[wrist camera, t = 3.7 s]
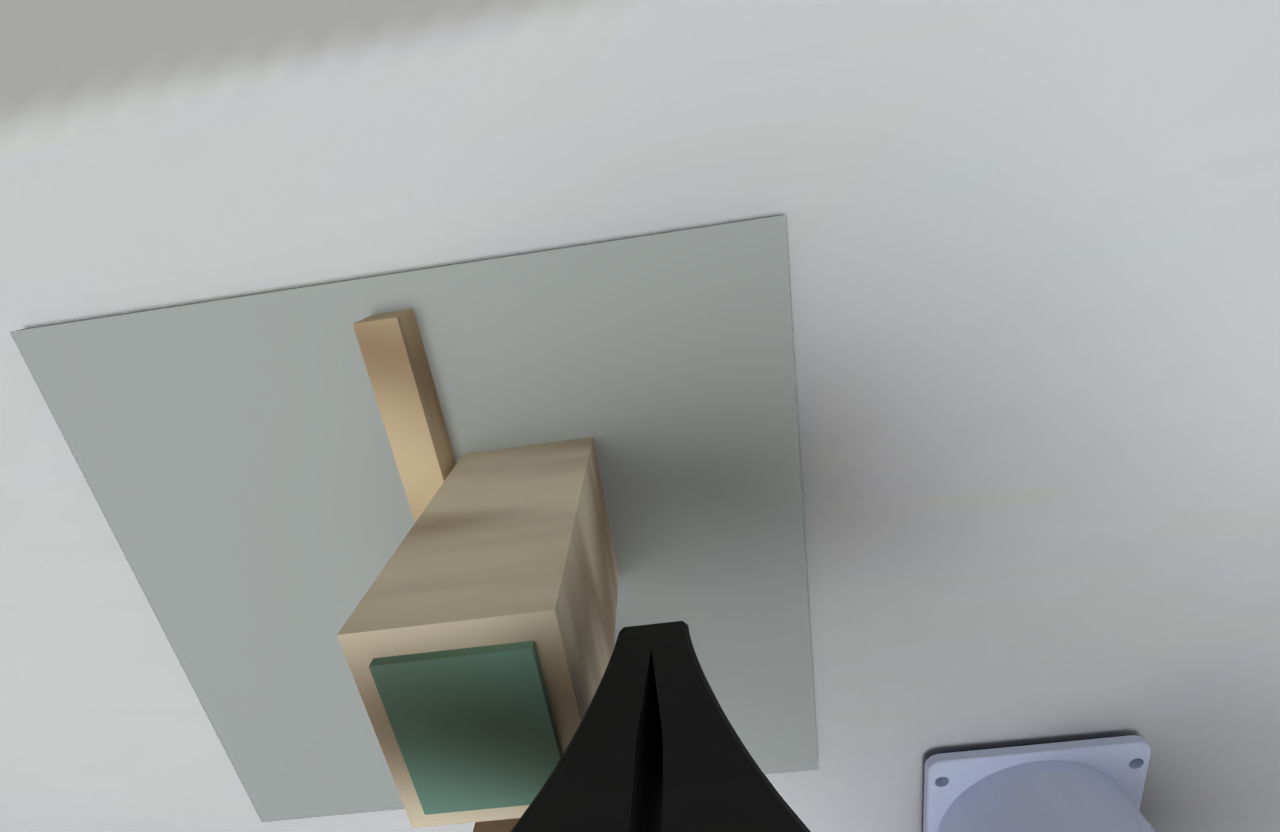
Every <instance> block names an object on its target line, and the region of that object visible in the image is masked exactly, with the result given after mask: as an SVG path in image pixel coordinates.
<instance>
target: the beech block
mask: <svg viewBox="0 0 1280 832" xmlns="http://www.w3.org/2000/svg"><path fill="white" fill-rule="evenodd" d="M618 583H619V574H618V569H617V563H616V558H615V553H614V547H613V542H612V536H611V531H610V526H609V520H608V515H607V510H606V504H605V499H604V493H603V488H602V483H601V477H600V472H599V467H598V461H597V456H596V451H595V445H594V440H593V437H589V438H581V439H573V440H566V441H558V442H551V443H543V444H535V445H528V446H520V447H512V448H505V449H497V450H490V451H482V452H474V453H467V454H463V455H462V457H461V458H460V459H459V461H458V462H457V464H456V465H455V467H454V468H453V469H452V471H451V472H450V474H449V475H448V477H447V478H446V479H445V481H444V482H443V484H442V485H441V487H440V488H439V489H438V491H437V492H436V494H435V495H434V497H433V498H432V499H431V501H430V502H429V504H428V505H427V507H426V508H425V509H424V511H423V512H422V514H421V515H420V517H419V518H418V519H417V521H416V522H415V524H414V525H413V527H412V528H411V529H410V531H409V532H408V534H407V535H406V537H405V538H404V539H403V541H402V542H401V544H400V545H399V547H398V548H397V550H396V551H395V552H394V554H393V555H392V557H391V558H390V560H389V561H388V562H387V564H386V565H385V567H384V568H383V570H382V571H381V572H380V574H379V575H378V577H377V578H376V580H375V581H374V582H373V584H372V585H371V587H370V588H369V590H368V591H367V592H366V594H365V595H364V597H363V598H362V600H361V601H360V602H359V604H358V605H357V607H356V608H355V610H354V611H353V612H352V614H351V615H350V617H349V618H348V620H347V621H346V622H345V624H344V625H343V627H342V628H341V630H340V631H339V632H338V634H337V637H338V640H339V642H340V645H341V647H342V650H343V652H344V655H345V657H346V660H347V662H348V665H349V668H350V670H351V673H352V675H353V678H354V680H355V683H356V685H357V688H358V690H359V693H360V696H361V698H362V701H363V703H364V706H365V708H366V711H367V713H368V716H369V718H370V721H371V723H372V726H373V729H374V731H375V734H376V736H377V739H378V741H379V744H380V746H381V749H382V751H383V754H384V757H385V759H386V762H387V764H388V767H389V769H390V772H391V774H392V777H393V779H394V782H395V784H396V787H397V790H398V792H399V795H400V797H401V800H402V802H403V805H404V807H405V810H406V812H407V815H408V818H409V820H410V823H411V825H412V828H417V827H428V826H439V825H450V824H460V823H471V822H482V821H492V820H503V819H514V818H521V816H522V815H523V814H524V812H525V811H526V809H527V808H528V807H529V805H530V804H531V802H532V801H533V800H534V798H535V797H536V796H537V794H538V793H539V791H540V790H541V788H542V787H543V785H544V784H545V782H546V781H547V779H548V778H549V776H550V775H551V773H552V771H553V770H554V768H555V767H556V765H557V763H558V762H559V760H560V759H561V757H562V755H563V754H564V752H565V750H566V748H567V747H568V745H569V743H570V741H571V739H572V738H573V736H574V734H575V732H576V730H577V728H578V727H579V725H580V723H581V721H582V719H583V717H584V716H585V714H586V712H587V710H588V708H589V706H590V703H591V701H592V699H593V697H594V695H595V693H596V691H597V688H598V686H599V684H600V682H601V680H602V678H603V675H604V673H605V670H606V668H607V666H608V663H609V661H610V658H611V655H612V653H613V650H614V638H615V624H616V610H617V596H618Z"/></svg>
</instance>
